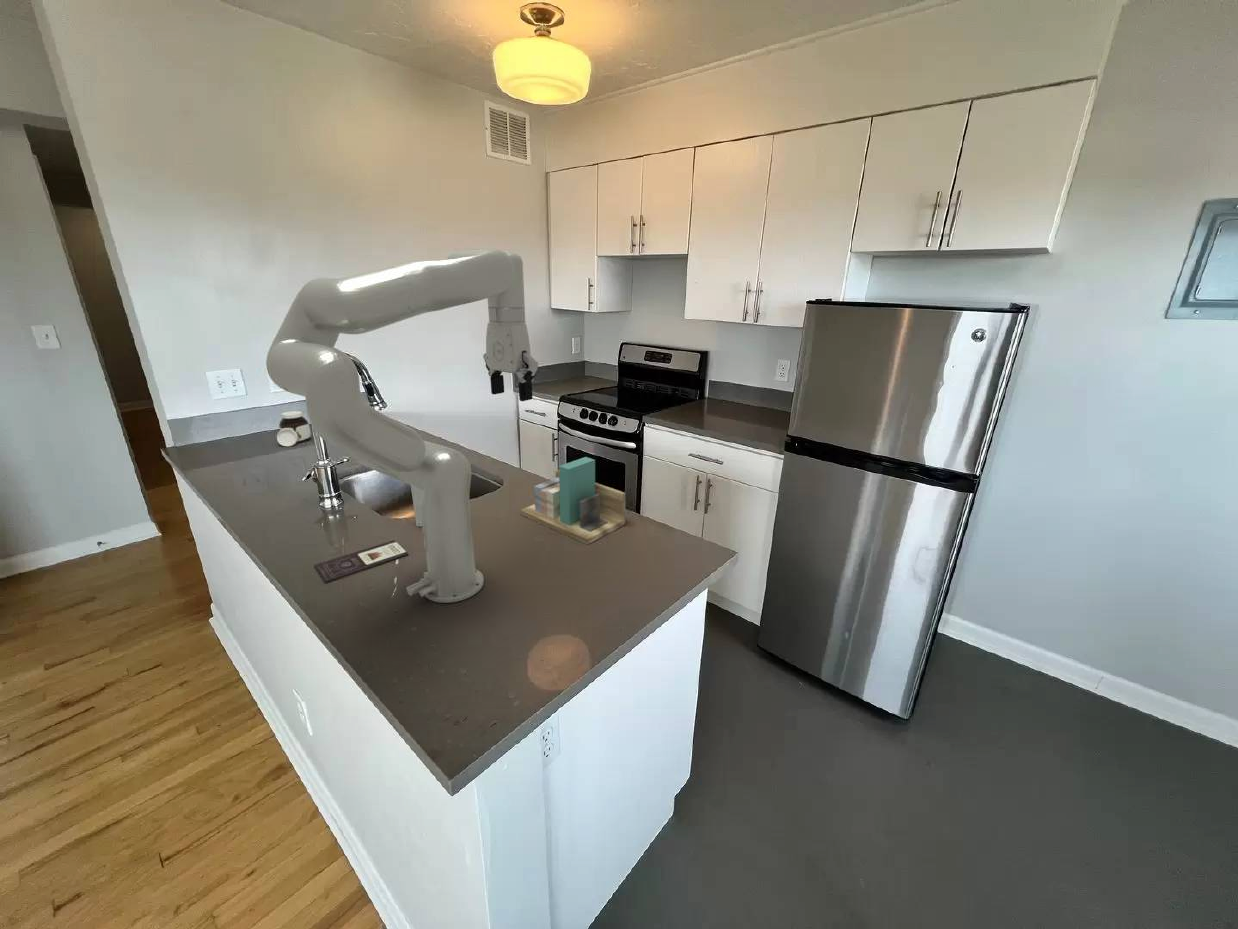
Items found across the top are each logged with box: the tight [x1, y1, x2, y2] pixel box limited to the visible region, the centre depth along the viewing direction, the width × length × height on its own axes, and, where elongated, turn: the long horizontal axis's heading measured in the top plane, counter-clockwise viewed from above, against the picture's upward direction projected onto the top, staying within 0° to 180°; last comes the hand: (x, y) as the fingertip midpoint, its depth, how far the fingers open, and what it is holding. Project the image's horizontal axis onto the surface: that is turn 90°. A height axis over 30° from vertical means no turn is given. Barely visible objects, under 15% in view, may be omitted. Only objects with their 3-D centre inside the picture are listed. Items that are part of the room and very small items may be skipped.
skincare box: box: [410, 485, 425, 527], centre depth 135 cm, size 8×6×15 cm
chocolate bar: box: [313, 539, 409, 585], centre depth 117 cm, size 9×1×18 cm
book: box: [558, 456, 596, 526], centre depth 135 cm, size 10×4×16 cm, turn 140°
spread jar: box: [276, 410, 312, 447], centre depth 198 cm, size 12×11×12 cm
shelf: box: [519, 469, 626, 546], centre depth 138 cm, size 15×26×10 cm, turn 50°
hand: (511, 396), depth 111 cm, fingers open, 9 cm apart
